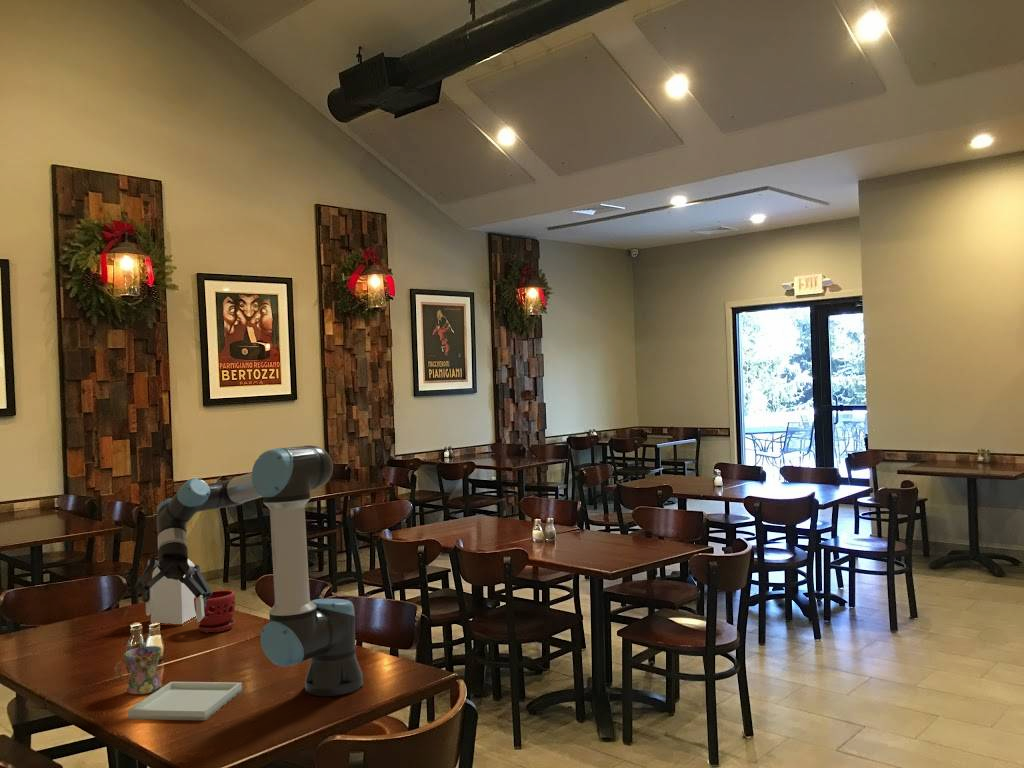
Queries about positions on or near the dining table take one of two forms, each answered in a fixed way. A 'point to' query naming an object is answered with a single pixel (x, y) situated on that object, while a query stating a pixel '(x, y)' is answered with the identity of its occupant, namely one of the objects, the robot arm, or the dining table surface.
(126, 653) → the mug
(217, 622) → the plant pot
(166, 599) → the milk
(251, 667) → the dining table surface
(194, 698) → the tray
